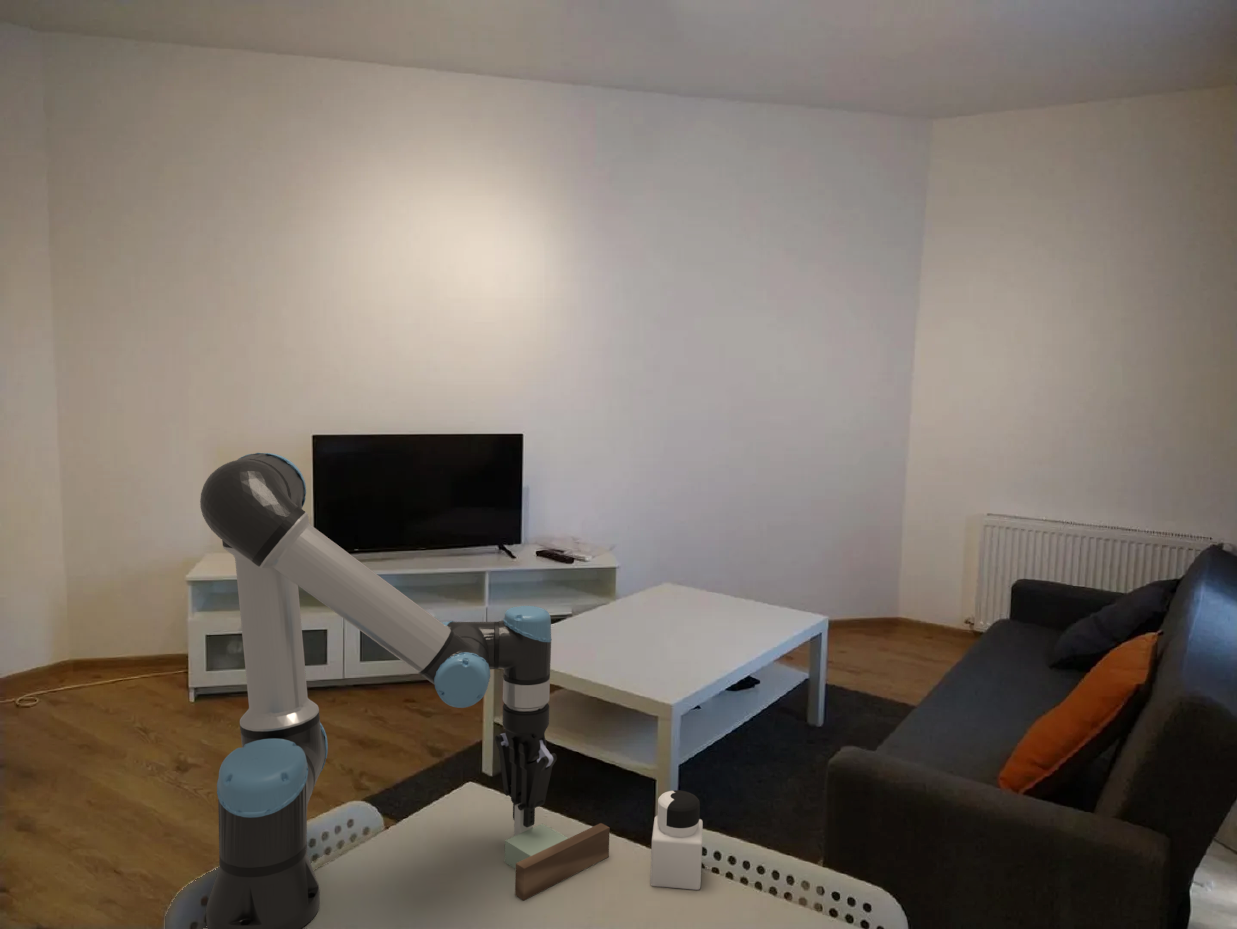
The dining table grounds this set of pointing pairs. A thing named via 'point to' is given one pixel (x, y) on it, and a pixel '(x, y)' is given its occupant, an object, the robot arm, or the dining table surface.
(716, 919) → the dining table surface
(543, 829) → the block
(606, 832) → the board
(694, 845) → the container
